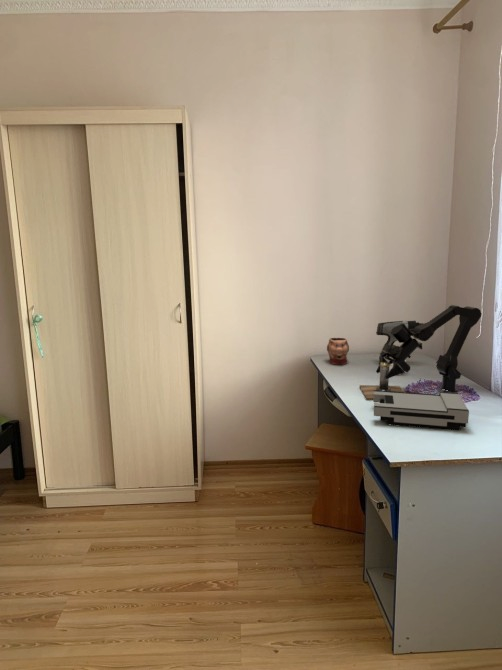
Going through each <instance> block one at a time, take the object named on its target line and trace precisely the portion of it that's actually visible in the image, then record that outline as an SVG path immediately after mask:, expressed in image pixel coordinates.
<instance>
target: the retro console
mask: <svg viewBox="0 0 502 670" xmlns="http://www.w3.org/2000/svg"><path fill="white" fill-rule="evenodd" d="M372 401H373V416H374V417H379V418H380V421H383V422H384V421H385V422H386V425H387V424H391V425H390V426H396V425H399V427H410V428H420V429H421V428H422V429H431V430H432V429H435V430H445V431H457V432H459V431H461V428H467V424H469V418H470V411H469V408H468V407H467V405H466V404H465V401H463V398H462V397H461V395H460V394H459V392H450V391H439V394H434V393H419V392H417V393H416V392H405V391H404V392H391V391H377V390H374V397H373V400H372Z"/></svg>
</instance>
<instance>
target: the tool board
mask: <svg viewBox="0 0 502 670" xmlns="http://www.w3.org/2000/svg"><path fill="white" fill-rule="evenodd" d="M377 387H379V385H378V384H377V385H374V384H373V385H371V384H370V385H369V384H368V385H367V384H364V385H363V384H362V385H361V384H360V385H359V390H360V391H361V393H362V395H363V397H364V399H365V401H373V397H374V390H376V388H377ZM388 388H391V392H405V390H403V389H402V387H401V386H400V385H388Z"/></svg>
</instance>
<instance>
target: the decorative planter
mask: <svg viewBox="0 0 502 670" xmlns="http://www.w3.org/2000/svg"><path fill="white" fill-rule="evenodd" d="M349 350H350V346H349V343H348V339H346V337H331V338H329V339H328V343H327V345H326V351H327V353H328V357H329V362H330V363H331V364H333V365H346V364H348V358H347V355H348V353H349Z"/></svg>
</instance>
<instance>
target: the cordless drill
mask: <svg viewBox="0 0 502 670" xmlns="http://www.w3.org/2000/svg"><path fill="white" fill-rule="evenodd" d="M401 323H403V324H405V326H406V327H407V328H408V329H409V330H411V329H414V328H415V327H416V326H418V325H421V324H424V322H419V321H417V322H416V320H397V321H396V320H395V321H385V322H379V323H377V326H376V327H377V328H376V331H375V333H376V335H377V336H386V337H387V341H386V342H385V343H386V344H388V345H390V346H393V345H395V342H398V341H397V340H396V338H395V337H394V336H393V335H392V334H391V330H392V329H393V328H394V327H396V326H398V325H400V324H401ZM382 351H385V350H381V351H380V353H381V352H382ZM380 356H381V355H380V354H379V358H378V360H379V361H378V362H379V364H380V362H381V357H380ZM379 364H378V365H379Z"/></svg>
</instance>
